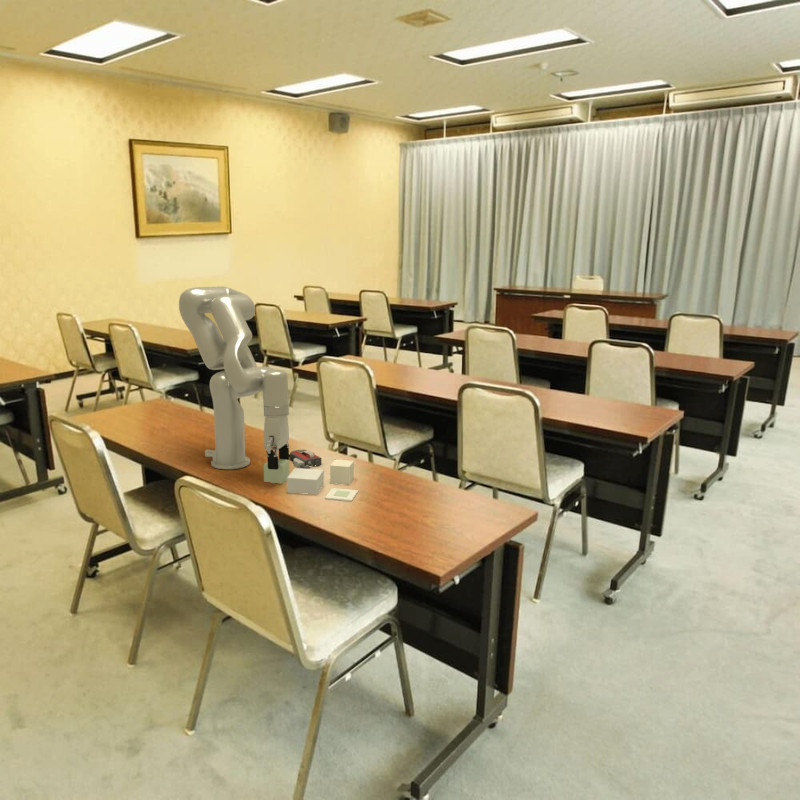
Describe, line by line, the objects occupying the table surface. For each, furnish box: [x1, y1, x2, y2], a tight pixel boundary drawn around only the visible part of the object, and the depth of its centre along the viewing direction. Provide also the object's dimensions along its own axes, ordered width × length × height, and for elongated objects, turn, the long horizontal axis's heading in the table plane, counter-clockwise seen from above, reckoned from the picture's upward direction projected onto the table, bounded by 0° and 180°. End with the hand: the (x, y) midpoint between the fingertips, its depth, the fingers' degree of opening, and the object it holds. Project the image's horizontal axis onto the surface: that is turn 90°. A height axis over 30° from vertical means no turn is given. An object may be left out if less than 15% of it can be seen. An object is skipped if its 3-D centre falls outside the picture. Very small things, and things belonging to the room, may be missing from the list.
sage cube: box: [263, 458, 290, 484], centre depth 204 cm, size 6×6×6 cm
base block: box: [286, 467, 325, 495], centre depth 198 cm, size 9×9×5 cm
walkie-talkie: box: [289, 448, 322, 469], centre depth 219 cm, size 9×4×20 cm
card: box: [324, 487, 359, 502], centre depth 193 cm, size 8×8×1 cm
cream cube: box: [329, 459, 355, 486], centre depth 205 cm, size 6×6×6 cm
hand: (278, 464), depth 203 cm, fingers open, 9 cm apart
